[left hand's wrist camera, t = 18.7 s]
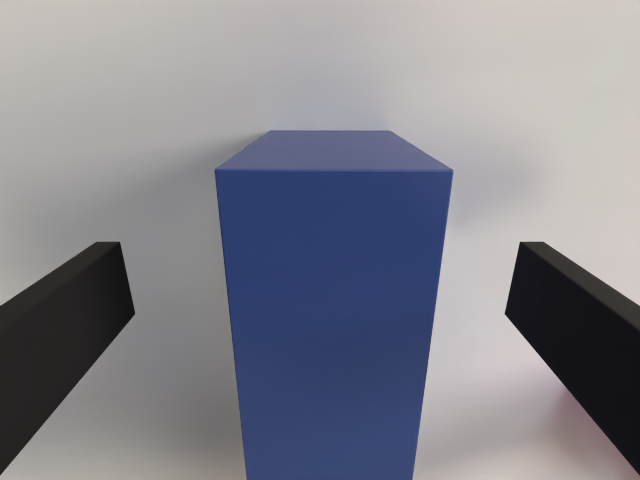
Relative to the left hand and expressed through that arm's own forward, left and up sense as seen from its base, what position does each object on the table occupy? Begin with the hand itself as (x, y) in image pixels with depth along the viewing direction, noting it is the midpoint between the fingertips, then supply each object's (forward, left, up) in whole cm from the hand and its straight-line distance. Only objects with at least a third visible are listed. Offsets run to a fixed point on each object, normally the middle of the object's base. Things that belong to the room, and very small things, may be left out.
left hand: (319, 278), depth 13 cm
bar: (+4, -6, -6) cm, 10 cm away
